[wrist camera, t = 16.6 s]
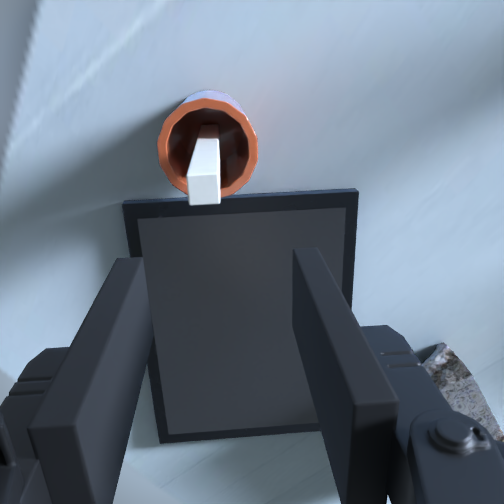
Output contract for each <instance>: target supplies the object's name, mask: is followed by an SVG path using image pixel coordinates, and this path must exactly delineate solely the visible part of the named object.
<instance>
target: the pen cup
mask: <svg viewBox="0 0 504 504" xmlns="http://www.w3.org/2000/svg"><path fill="white" fill-rule="evenodd" d="M212 124H218V125H219V138H220V198H222V197H226V196H229V195H232V194H234V193H235V192H236V191H237V190H239V189H240V188H241V187H242V186H243V185H244V184H246V183H247V182H248V181H249V179H250V177H251V175H252V173H253V171H254V168H255V166H256V164H257V161H258V141H257V136H256V134H255V132H254V130H253V128H252V126H251V124H250V122H249V120H248V118H247V116H246V114H245V112H244V111H243V109H242V107H241V105H240V104H239V103H238V102H237V101H236V100H234V99H233V98H232V97H231V96H229V95H227V94H225V93H223V92H220V91H216V90H203V91H199V92H197V93H194V94H191V95H190V96H189V97H187V98H186V99H185V100H184V101H183V102H182V103H181V104H180V105H179V106H178V107H177V108H176V109H175V110H174V111H173V112H172V113H171V114H170V115H169V116H168V117H167V118H166V119H165V121H164V123H163V126H162V129H161V132H160V134H159V137H158V140H157V148H158V156H159V164H160V167H161V168H162V170H163V171H164V173H165V175H166V176H167V178H168V179H169V181H170V183H171V184H172V185H173V186H175V187H176V188H178V189H179V190H181V191H182V192H184V193H185V194H187V195H188V190H187V180H186V175H187V172H188V168H189V165H190V162H191V158H192V155H193V151H194V148H195V145H196V141H197V138H198V134H199V131H200V128H201V125H212Z"/></svg>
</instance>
